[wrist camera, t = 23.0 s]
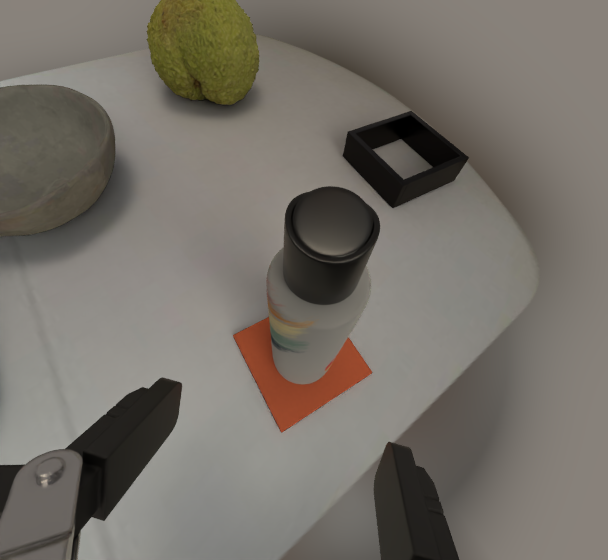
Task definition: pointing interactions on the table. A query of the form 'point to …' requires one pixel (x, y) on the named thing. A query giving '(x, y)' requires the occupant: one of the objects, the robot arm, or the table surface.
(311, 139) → the table surface
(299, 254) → the lotion bottle
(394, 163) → the table surface
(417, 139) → the holder
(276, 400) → the mat
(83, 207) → the bowl
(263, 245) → the table surface
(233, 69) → the fruit
